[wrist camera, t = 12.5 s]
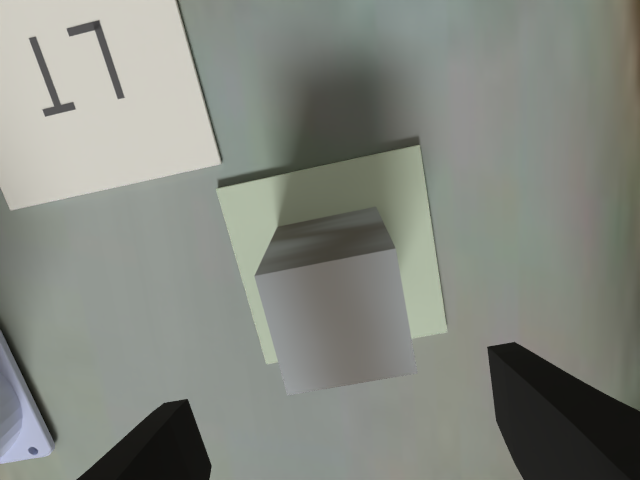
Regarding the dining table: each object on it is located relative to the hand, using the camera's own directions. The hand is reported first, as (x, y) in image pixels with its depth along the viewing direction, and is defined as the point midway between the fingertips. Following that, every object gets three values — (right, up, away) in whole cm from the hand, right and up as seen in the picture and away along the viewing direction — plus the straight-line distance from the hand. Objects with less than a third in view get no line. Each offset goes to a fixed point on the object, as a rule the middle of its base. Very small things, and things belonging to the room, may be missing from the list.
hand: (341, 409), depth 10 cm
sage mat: (0, +3, +10) cm, 10 cm away
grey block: (0, +3, +10) cm, 10 cm away
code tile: (-11, +11, +8) cm, 17 cm away
